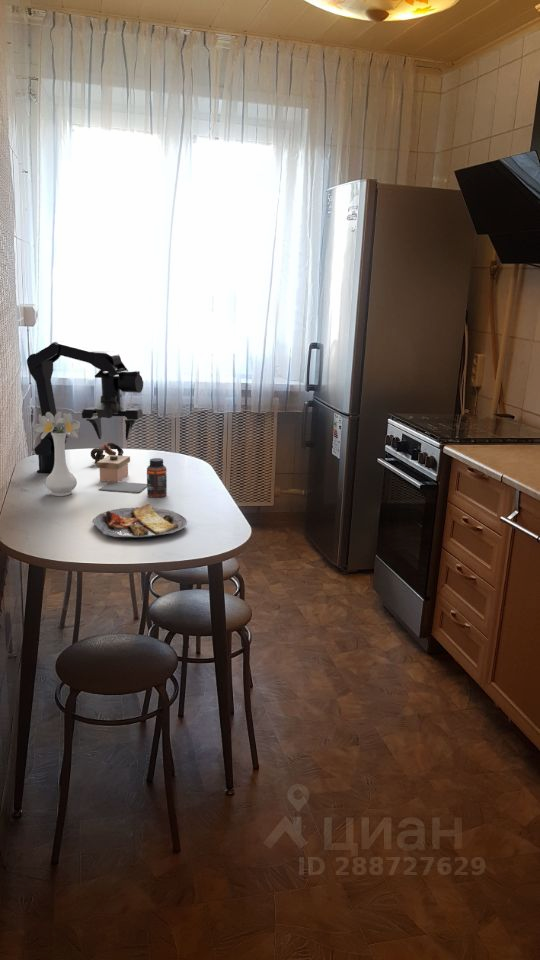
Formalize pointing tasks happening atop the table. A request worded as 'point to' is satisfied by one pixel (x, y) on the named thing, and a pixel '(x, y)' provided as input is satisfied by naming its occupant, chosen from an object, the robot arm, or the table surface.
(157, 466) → the supplement bottle
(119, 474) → the dish
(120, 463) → the lid
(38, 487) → the table surface
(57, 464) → the flower vase
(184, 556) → the table surface
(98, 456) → the dark brown looped piece
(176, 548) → the table surface
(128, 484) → the mat
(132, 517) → the food plate
